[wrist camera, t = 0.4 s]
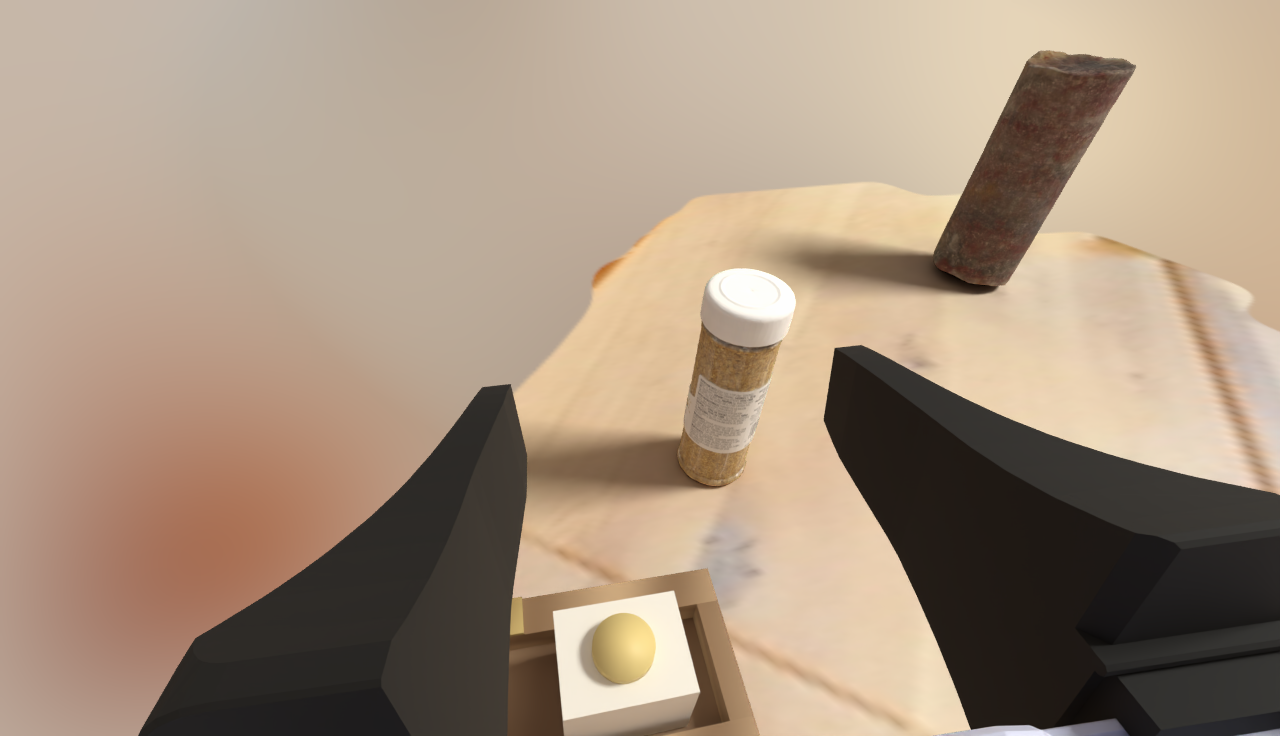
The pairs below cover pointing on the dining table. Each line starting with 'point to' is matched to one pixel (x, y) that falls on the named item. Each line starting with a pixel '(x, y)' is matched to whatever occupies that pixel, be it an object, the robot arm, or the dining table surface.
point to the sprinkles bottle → (732, 371)
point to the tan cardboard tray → (534, 704)
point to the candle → (1028, 162)
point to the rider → (624, 667)
